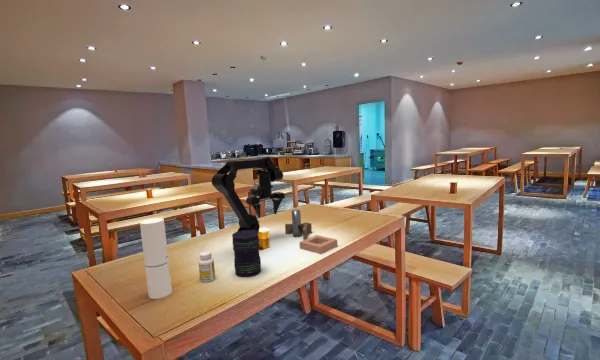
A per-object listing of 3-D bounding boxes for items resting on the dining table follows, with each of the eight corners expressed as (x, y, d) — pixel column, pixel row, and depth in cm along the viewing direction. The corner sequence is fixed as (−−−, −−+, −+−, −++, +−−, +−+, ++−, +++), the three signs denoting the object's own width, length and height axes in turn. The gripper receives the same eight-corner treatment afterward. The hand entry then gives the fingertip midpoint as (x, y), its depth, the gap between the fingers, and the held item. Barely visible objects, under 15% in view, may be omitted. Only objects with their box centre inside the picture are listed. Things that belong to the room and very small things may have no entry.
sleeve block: (320, 254, 135) (320, 247, 134) (299, 248, 143) (299, 242, 142) (337, 246, 143) (337, 239, 143) (316, 241, 151) (316, 235, 151)
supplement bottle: (209, 274, 120) (207, 249, 119) (218, 277, 116) (216, 252, 115) (197, 279, 116) (194, 254, 114) (205, 283, 112) (203, 257, 111)
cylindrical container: (175, 287, 110) (167, 217, 107) (167, 298, 103) (158, 223, 100) (154, 289, 110) (145, 218, 107) (144, 299, 103) (135, 224, 100)
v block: (304, 240, 154) (304, 230, 153) (284, 233, 166) (283, 224, 165) (319, 235, 160) (319, 225, 159) (299, 229, 172) (298, 220, 172)
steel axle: (303, 236, 160) (301, 210, 158) (295, 237, 158) (294, 212, 156) (299, 234, 164) (297, 209, 162) (291, 235, 162) (289, 210, 160)
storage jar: (266, 271, 120) (263, 233, 118) (244, 280, 113) (240, 239, 111) (252, 264, 127) (249, 228, 125) (230, 272, 121) (226, 234, 119)
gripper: (271, 179, 162) (273, 209, 164) (238, 184, 150) (241, 217, 152) (284, 181, 153) (286, 213, 156) (251, 186, 142) (253, 220, 144)
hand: (267, 215), depth 152 cm, fingers open, 9 cm apart
